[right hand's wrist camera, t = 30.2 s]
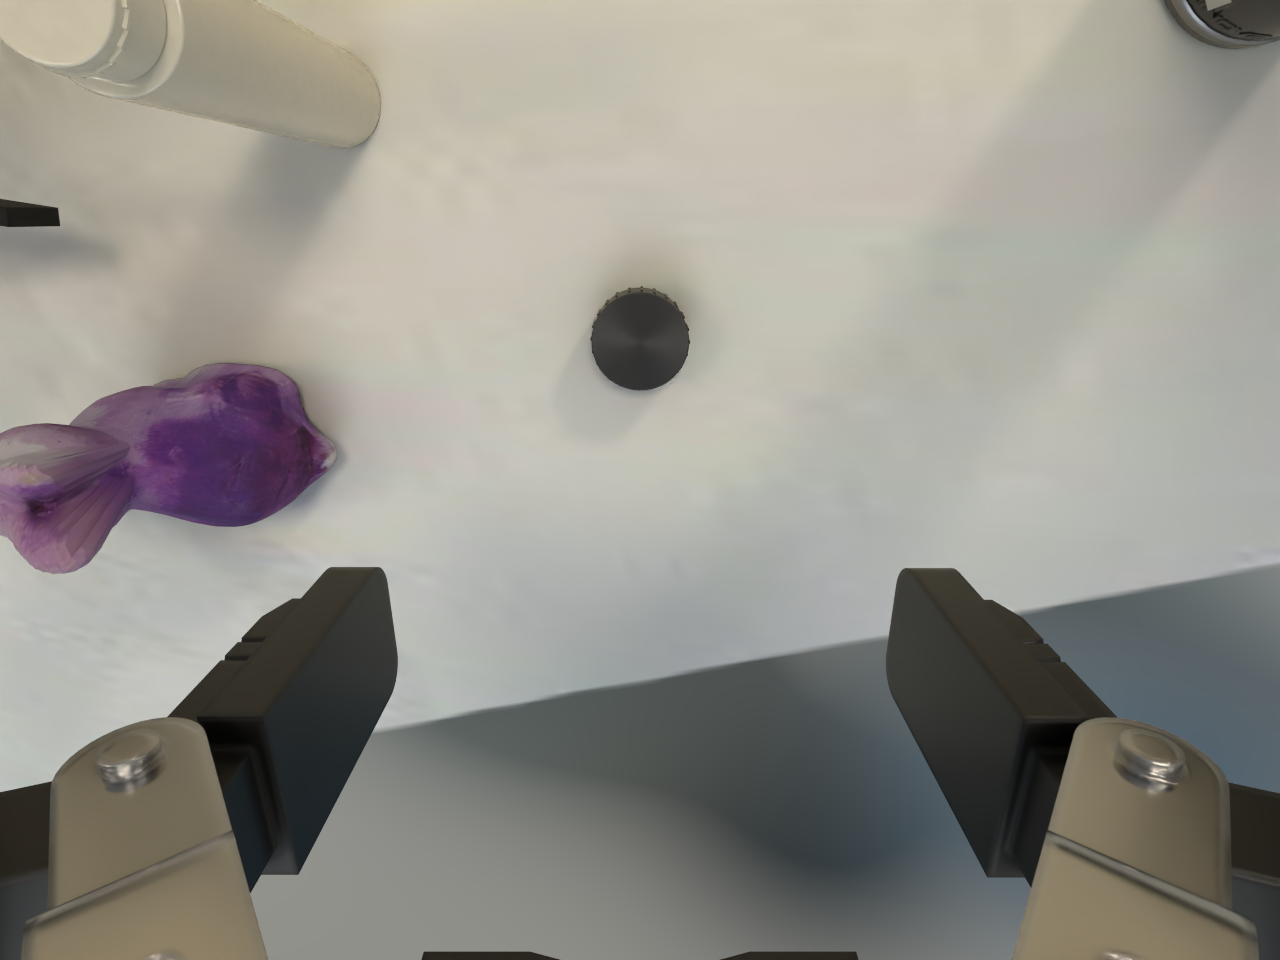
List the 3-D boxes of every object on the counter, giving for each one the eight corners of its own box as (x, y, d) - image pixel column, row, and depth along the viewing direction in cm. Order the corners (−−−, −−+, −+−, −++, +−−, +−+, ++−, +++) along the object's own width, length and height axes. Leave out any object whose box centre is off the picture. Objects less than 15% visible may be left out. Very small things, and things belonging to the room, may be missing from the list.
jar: (356, 167, 35) (95, 122, 18) (275, 112, 34) (-76, 12, 17) (396, 86, 34) (157, -42, 17) (314, 26, 33) (-24, -169, 16)
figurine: (107, 418, 39) (-189, 530, 25) (235, 309, 37) (-9, 366, 23) (233, 543, 42) (29, 708, 28) (360, 448, 40) (209, 574, 26)
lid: (616, 270, 37) (614, 273, 35) (703, 311, 38) (707, 317, 35) (578, 358, 38) (574, 367, 36) (663, 396, 39) (664, 407, 37)
